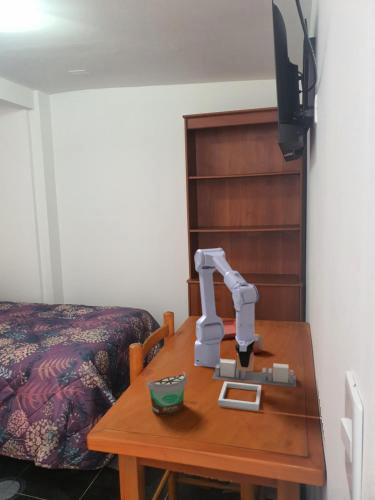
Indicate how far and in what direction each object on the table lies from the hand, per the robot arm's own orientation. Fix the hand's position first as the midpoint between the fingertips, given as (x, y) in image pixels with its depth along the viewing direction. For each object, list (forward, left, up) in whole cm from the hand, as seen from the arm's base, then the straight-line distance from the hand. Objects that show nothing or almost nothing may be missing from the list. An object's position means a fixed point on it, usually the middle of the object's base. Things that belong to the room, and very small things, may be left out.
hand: (245, 364), depth 121 cm
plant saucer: (-15, +54, -10) cm, 57 cm away
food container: (-20, -16, -10) cm, 27 cm away
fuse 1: (-7, +10, -9) cm, 15 cm away
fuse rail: (+2, +10, -9) cm, 14 cm away
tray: (-1, -4, -9) cm, 10 cm away
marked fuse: (0, 0, -1) cm, 1 cm away
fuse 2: (+11, +10, -9) cm, 17 cm away
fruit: (0, +33, -10) cm, 34 cm away
